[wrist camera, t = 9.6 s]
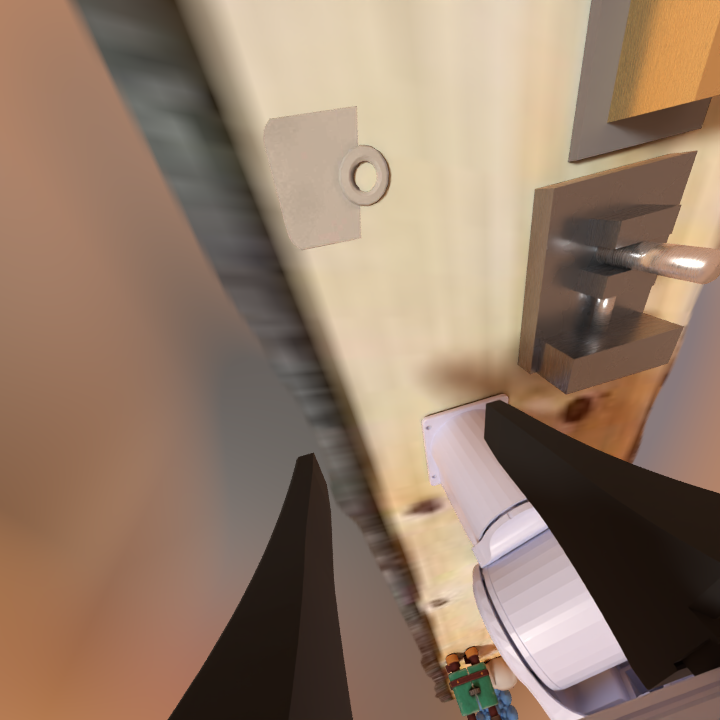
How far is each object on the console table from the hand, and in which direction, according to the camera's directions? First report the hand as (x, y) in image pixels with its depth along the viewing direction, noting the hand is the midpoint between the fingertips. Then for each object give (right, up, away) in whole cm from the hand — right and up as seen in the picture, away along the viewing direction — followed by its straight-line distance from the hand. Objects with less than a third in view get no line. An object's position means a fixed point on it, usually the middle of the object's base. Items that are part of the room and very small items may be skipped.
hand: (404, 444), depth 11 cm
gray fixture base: (+14, +10, +9) cm, 20 cm away
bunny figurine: (+32, -73, +61) cm, 100 cm away
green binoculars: (+21, -64, +53) cm, 86 cm away
